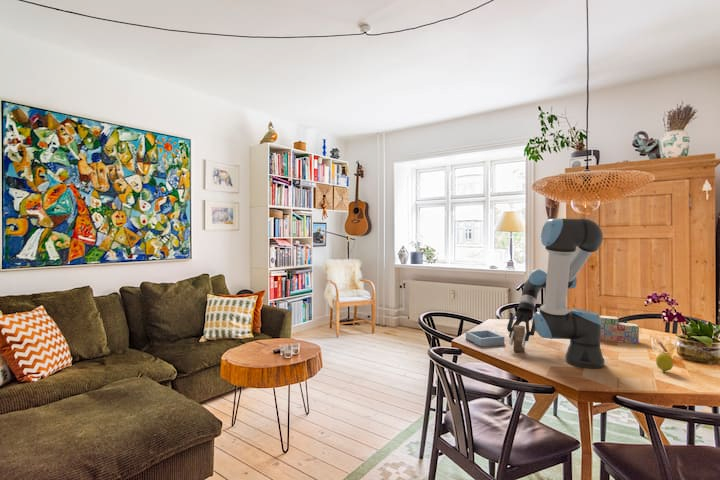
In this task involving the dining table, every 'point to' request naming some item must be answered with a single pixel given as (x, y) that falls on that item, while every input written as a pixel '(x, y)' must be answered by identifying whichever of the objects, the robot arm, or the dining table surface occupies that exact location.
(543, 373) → the dining table surface
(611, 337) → the stack of blocks
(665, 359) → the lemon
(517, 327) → the brown rectangular block
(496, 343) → the bin
